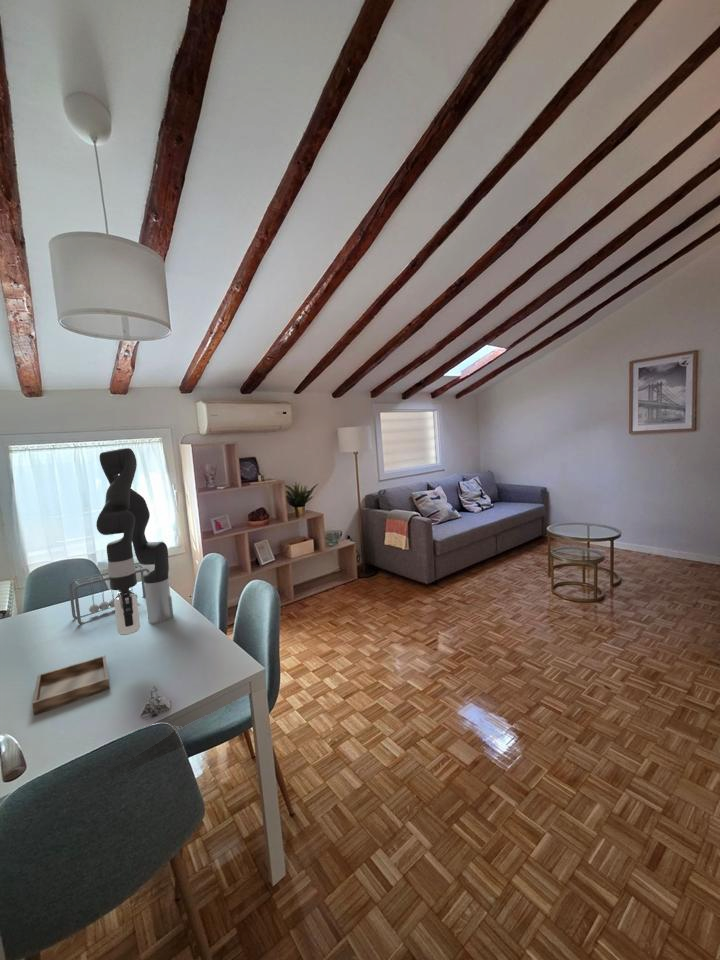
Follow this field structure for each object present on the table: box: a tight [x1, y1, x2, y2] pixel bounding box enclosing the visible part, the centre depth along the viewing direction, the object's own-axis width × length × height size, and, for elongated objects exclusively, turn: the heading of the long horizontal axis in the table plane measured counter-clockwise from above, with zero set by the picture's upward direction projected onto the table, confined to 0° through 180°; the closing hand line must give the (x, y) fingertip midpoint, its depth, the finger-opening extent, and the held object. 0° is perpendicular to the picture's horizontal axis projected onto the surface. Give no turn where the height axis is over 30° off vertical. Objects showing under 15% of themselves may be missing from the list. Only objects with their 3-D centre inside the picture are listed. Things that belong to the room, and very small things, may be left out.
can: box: [114, 592, 141, 636], centre depth 132 cm, size 6×6×12 cm
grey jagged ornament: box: [139, 685, 172, 719], centre depth 107 cm, size 9×9×8 cm
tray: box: [31, 655, 111, 716], centre depth 123 cm, size 18×18×4 cm
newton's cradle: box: [68, 564, 151, 625], centre depth 183 cm, size 30×10×18 cm, turn 137°
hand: (128, 622), depth 132 cm, fingers closed on can, 5 cm apart
